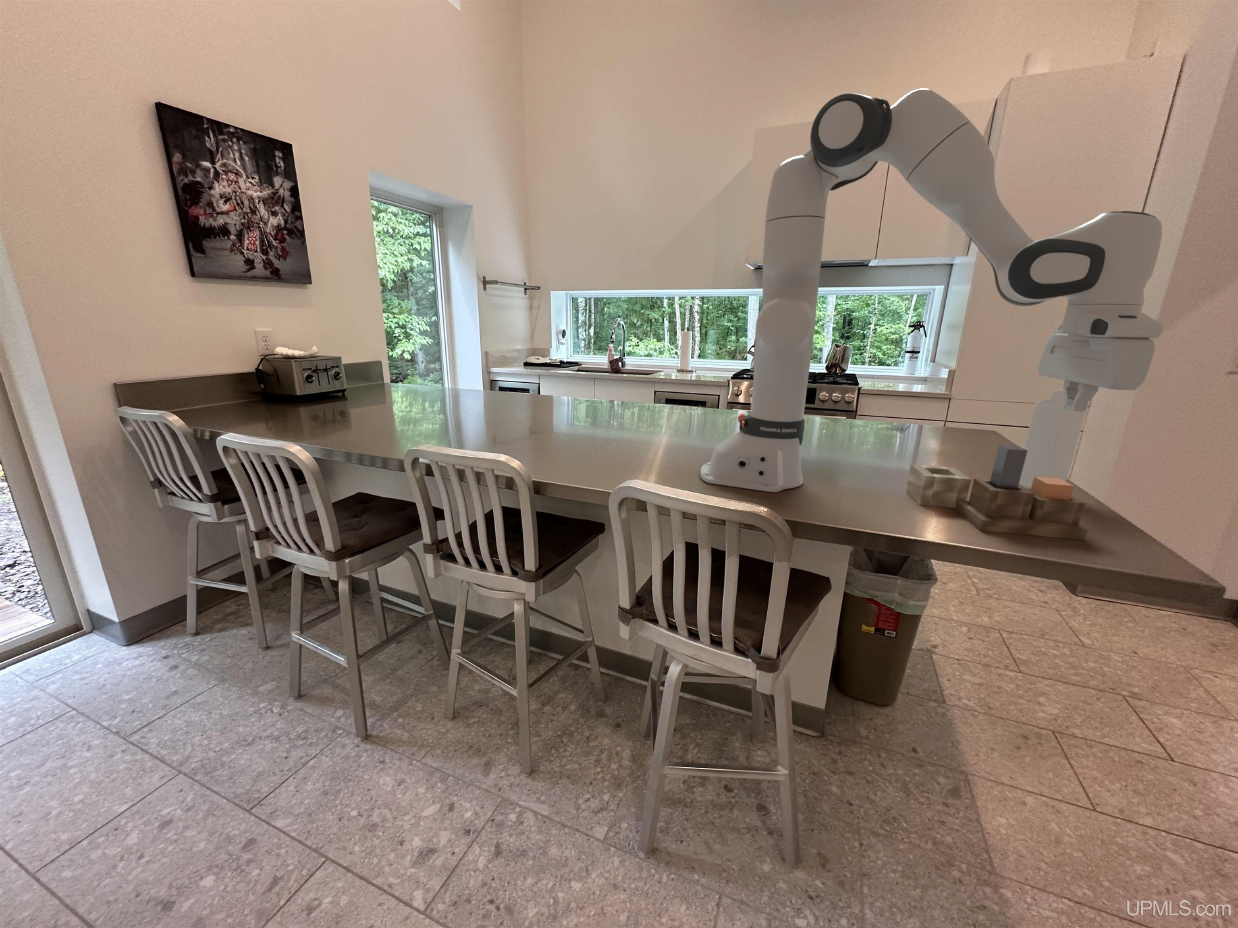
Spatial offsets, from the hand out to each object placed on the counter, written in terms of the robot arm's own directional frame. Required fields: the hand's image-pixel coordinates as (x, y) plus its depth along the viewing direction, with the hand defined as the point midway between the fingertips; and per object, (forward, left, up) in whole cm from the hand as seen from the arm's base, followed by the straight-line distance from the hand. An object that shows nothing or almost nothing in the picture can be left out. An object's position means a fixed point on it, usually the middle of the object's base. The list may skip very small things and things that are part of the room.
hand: (1073, 409), depth 84 cm
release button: (0, 0, -17) cm, 17 cm away
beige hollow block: (-14, +10, -21) cm, 27 cm away
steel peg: (-7, 0, -19) cm, 21 cm away
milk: (+10, +21, -21) cm, 32 cm away
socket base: (-4, 0, -21) cm, 21 cm away
